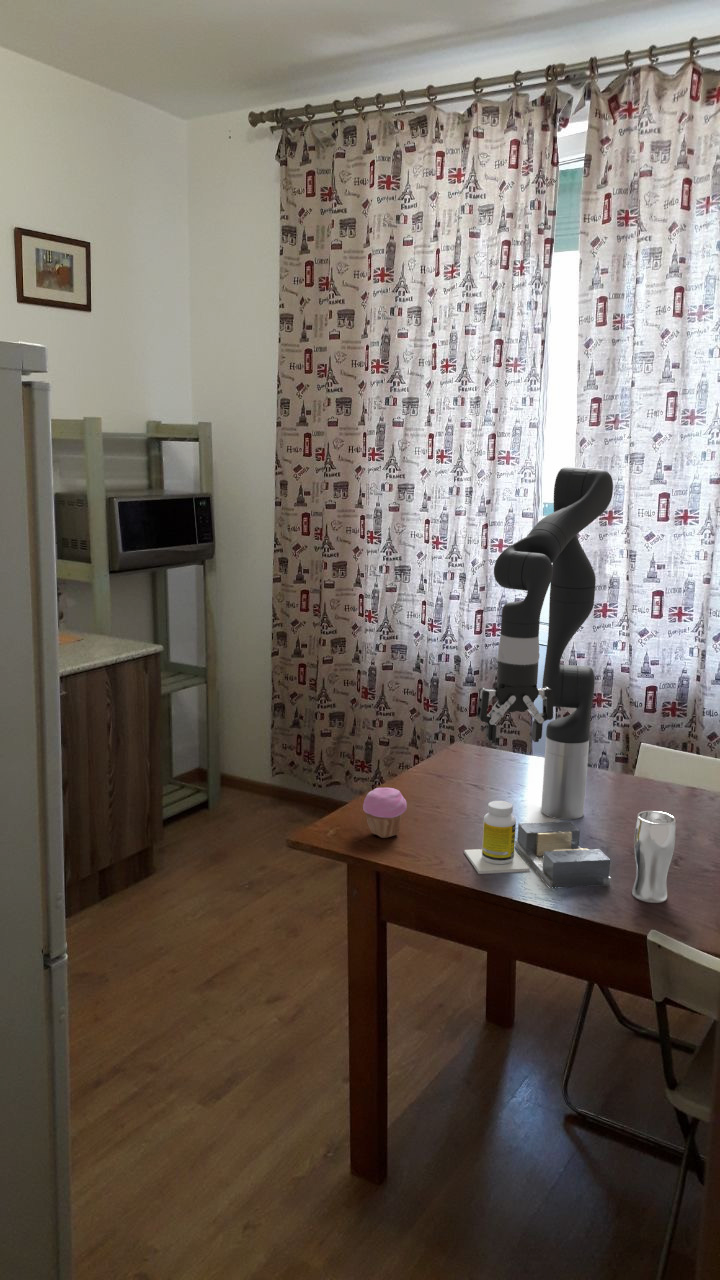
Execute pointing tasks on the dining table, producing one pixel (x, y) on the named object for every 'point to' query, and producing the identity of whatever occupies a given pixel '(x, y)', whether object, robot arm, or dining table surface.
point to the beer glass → (653, 854)
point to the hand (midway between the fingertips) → (513, 741)
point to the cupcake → (384, 811)
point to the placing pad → (487, 867)
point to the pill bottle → (498, 833)
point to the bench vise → (562, 855)
